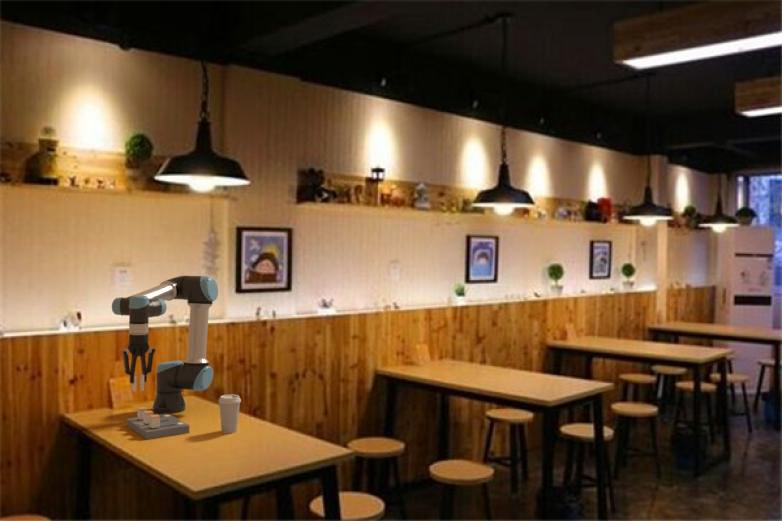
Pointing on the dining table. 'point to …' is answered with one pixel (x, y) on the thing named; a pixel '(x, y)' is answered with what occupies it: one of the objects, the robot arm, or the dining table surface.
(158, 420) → the slider
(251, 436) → the dining table surface
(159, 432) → the switch unit
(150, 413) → the slider mid
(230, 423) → the coffee cup
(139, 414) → the slider
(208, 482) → the dining table surface
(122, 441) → the dining table surface
